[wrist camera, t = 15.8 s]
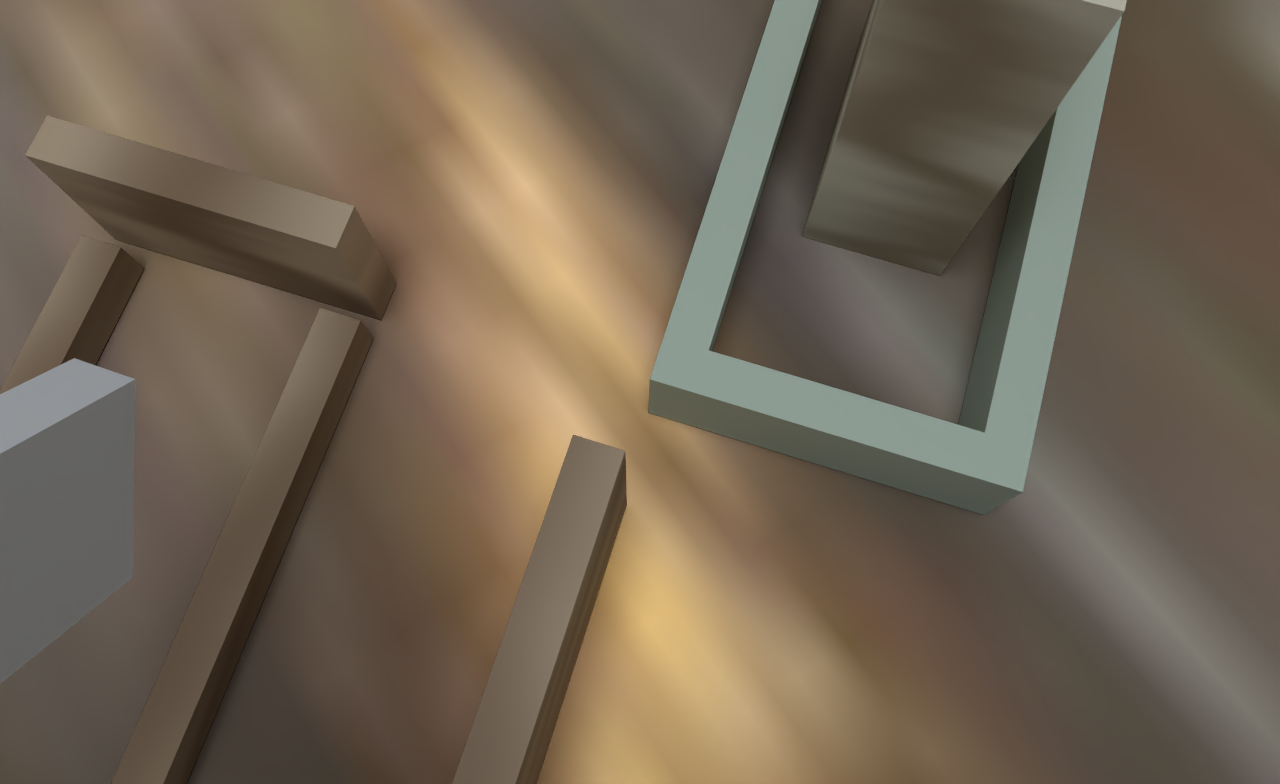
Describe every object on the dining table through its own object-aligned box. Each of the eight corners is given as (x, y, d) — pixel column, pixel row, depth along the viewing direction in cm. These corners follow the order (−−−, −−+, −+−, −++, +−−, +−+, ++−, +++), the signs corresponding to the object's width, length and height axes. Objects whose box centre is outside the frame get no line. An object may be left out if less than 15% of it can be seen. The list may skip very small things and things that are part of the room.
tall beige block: (989, 75, 27) (1182, -272, 18) (939, 275, 25) (1124, 11, 16) (859, 40, 28) (981, -321, 18) (801, 236, 26) (901, -47, 16)
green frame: (1110, -69, 29) (1153, -140, 26) (983, 514, 24) (1023, 492, 21) (829, -141, 29) (846, -217, 27) (648, 412, 24) (649, 379, 22)
